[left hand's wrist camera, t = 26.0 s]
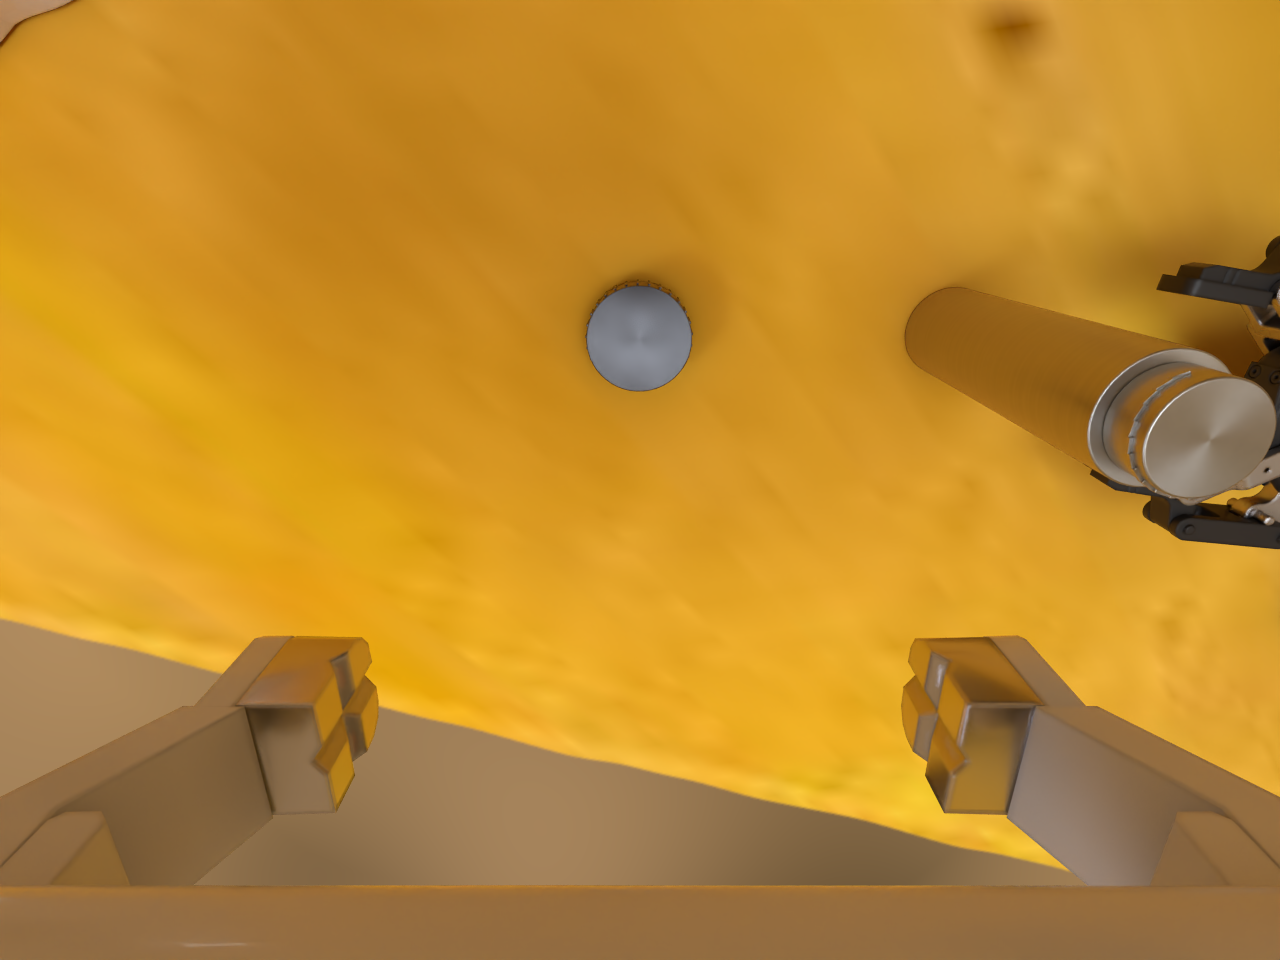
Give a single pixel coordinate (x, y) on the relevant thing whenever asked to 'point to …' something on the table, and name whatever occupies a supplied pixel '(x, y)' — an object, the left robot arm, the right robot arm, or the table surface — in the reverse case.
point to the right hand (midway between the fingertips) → (1130, 377)
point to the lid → (639, 336)
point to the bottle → (1099, 391)
